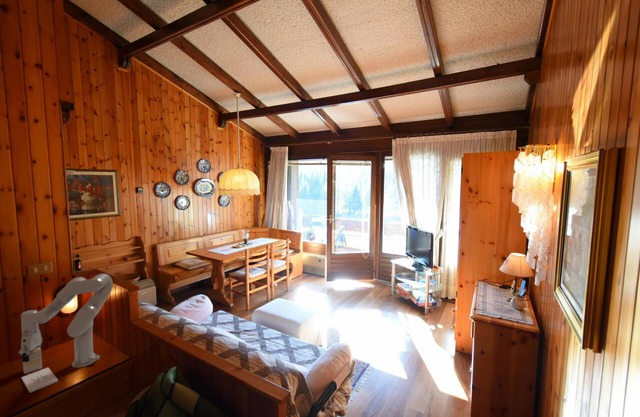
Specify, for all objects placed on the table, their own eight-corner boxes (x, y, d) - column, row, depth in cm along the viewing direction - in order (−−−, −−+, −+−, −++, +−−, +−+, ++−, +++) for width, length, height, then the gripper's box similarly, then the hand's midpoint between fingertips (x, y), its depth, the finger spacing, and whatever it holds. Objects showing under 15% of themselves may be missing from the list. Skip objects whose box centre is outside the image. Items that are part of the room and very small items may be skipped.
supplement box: (41, 366, 187) (40, 346, 186) (42, 369, 184) (41, 349, 183) (23, 372, 181) (21, 351, 180) (23, 375, 178) (22, 354, 177)
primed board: (57, 381, 172) (57, 379, 172) (29, 392, 163) (29, 390, 163) (48, 369, 184) (48, 367, 184) (21, 379, 174) (21, 377, 174)
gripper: (26, 337, 173) (27, 365, 174) (47, 323, 190) (49, 349, 191) (11, 338, 171) (12, 366, 173) (34, 324, 188) (35, 350, 190)
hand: (31, 357), depth 182 cm, fingers closed on supplement box, 8 cm apart
